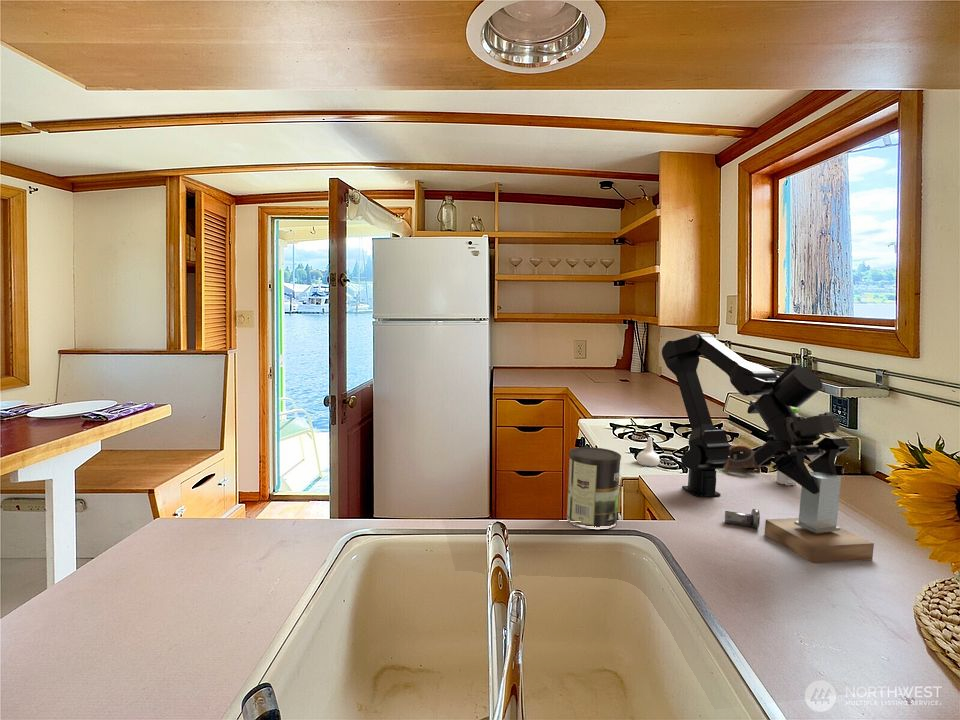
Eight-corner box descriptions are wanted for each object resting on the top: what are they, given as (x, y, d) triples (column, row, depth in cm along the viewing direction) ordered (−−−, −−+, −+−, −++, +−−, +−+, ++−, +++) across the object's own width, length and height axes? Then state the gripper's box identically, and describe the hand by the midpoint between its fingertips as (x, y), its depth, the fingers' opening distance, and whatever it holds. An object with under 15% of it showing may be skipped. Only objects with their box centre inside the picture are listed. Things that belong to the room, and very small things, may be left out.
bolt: (725, 525, 105) (727, 508, 104) (724, 519, 108) (725, 502, 108) (758, 530, 103) (760, 513, 102) (755, 523, 106) (757, 507, 106)
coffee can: (615, 513, 109) (619, 448, 108) (618, 533, 99) (622, 462, 98) (566, 508, 111) (569, 444, 110) (564, 527, 101) (568, 457, 100)
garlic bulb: (645, 469, 145) (648, 442, 144) (631, 461, 151) (635, 435, 149) (663, 468, 147) (667, 441, 146) (649, 460, 153) (652, 434, 152)
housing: (794, 523, 97) (799, 472, 96) (818, 520, 99) (822, 470, 98) (815, 533, 93) (820, 479, 92) (840, 530, 95) (845, 477, 94)
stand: (764, 534, 101) (765, 519, 101) (817, 531, 103) (818, 517, 103) (813, 563, 89) (815, 546, 89) (872, 559, 91) (874, 543, 91)
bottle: (782, 485, 133) (788, 409, 131) (773, 480, 137) (779, 406, 135) (799, 486, 133) (805, 409, 131) (789, 480, 137) (796, 406, 135)
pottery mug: (770, 477, 141) (765, 454, 138) (739, 491, 142) (733, 468, 139) (743, 454, 153) (738, 433, 150) (714, 467, 153) (708, 446, 150)
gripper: (771, 398, 95) (821, 474, 85) (845, 396, 100) (899, 468, 91) (734, 430, 103) (776, 503, 94) (805, 427, 109) (851, 495, 99)
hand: (827, 492), depth 94 cm, fingers closed on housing, 5 cm apart
